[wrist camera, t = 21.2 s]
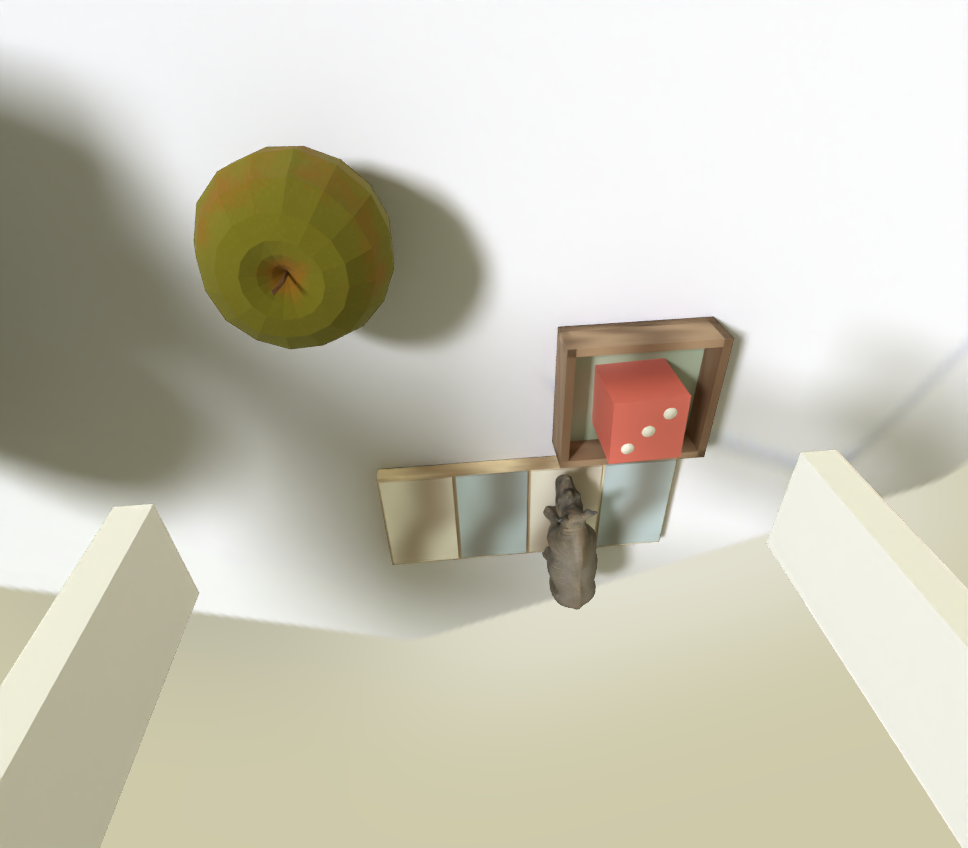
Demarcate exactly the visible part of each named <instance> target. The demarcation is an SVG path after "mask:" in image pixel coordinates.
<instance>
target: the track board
mask: <svg viewBox="0 0 968 848" xmlns="http://www.w3.org/2000/svg"><path fill="white" fill-rule="evenodd" d="M676 462H677V459H671V460H659V461H646V462H633V463H621V464H608V465H595V466H583V467H570V468H560V466H559V462H558V459H557V456H546V457H533V458H520V459H507V460H495V461H482V462H469V463H456V464H443V465H431V466H418V467H405V468H392V469H379V470H378V471H377V484H378V490H379V495H380V500H381V505H382V511H383V516H384V521H385V527H386V532H387V537H388V542H389V548H390V553H391V558H392V564H393V565H394V564H406V563H418V562H429V561H441V560H452V559H464V558H475V557H487V556H499V555H510V554H522V553H533V552H544V551H545V548H546V547H548V546H549V544H548V542H547V535H548V529H549V526H550V521H549V520H548V519H547V518H546V517H545V516H544V514H543V511H544V509H545V507H546V506H556V505H555V497H556V491H555V480H556V478H557V477H558V476H559V475H562V474H564V475H565V474H569V475H570V476H571V477H572V480H573V483H574V486H575V488H576V490H577V491H578V492H579V493H580V494H581V502H582V504H583V511H584V510H585V509H590V510H592V511H597V514H596V515H594V516H592V517H590V518H588V519H587V520H586V523H587V524H589V525H590V526H591V527H592V528H593V529H594V530H595V532H596V536H597V546H596V547H603V546H615V545H626V544H638V543H649V542H659V540H660V536H661V531H662V526H663V522H664V517H665V513H666V508H667V503H668V499H669V494H670V490H671V485H672V480H673V476H674V471H675V467H676Z"/></svg>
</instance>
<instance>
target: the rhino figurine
mask: <svg viewBox="0 0 968 848" xmlns="http://www.w3.org/2000/svg"><path fill="white" fill-rule="evenodd" d="M555 491H556V497H555V505H556V506H546V507H545V509H544V511H543V514H544V516H545V517H546V518H547V519H548V520H549V521H550V526H549V529H548V535H547V542H548V544H549V546H548V547H546V548H545V551H544V552H543V556H544V558H545V559H546V560H547V568H548V572H549V575H550V579H549V582H550V590H551V593H552V595H553V597H554V598H555V600H556V601H557V602H558V603H559V604H560V605H562V606H565V607H568V608H574V609H580V608H581V607H582V606H583V605H584V604H586V603H587V602H589V601H590V600H591V599H592V598H593V596H594V594H595V588H596V586H595V581H594V578H595V574H596V568H597V555H596V546H597V536H596V532H595V530H594V529H593V528H592V527H591V526H590V525H589V524H587V523H586V520H587V519H588V518H590V517H592V516H594V515H596V514H597V511H592V510H590V509H585V510H584V511H583V504H582V502H581V494H580V493H579V492H578V491H577V490H576V488H575V486H574V483H573V480H572V477H571V476H570V475H569V474H565V475H564V474H562V475H559V476H558V477H557V478H556V480H555Z"/></svg>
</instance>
